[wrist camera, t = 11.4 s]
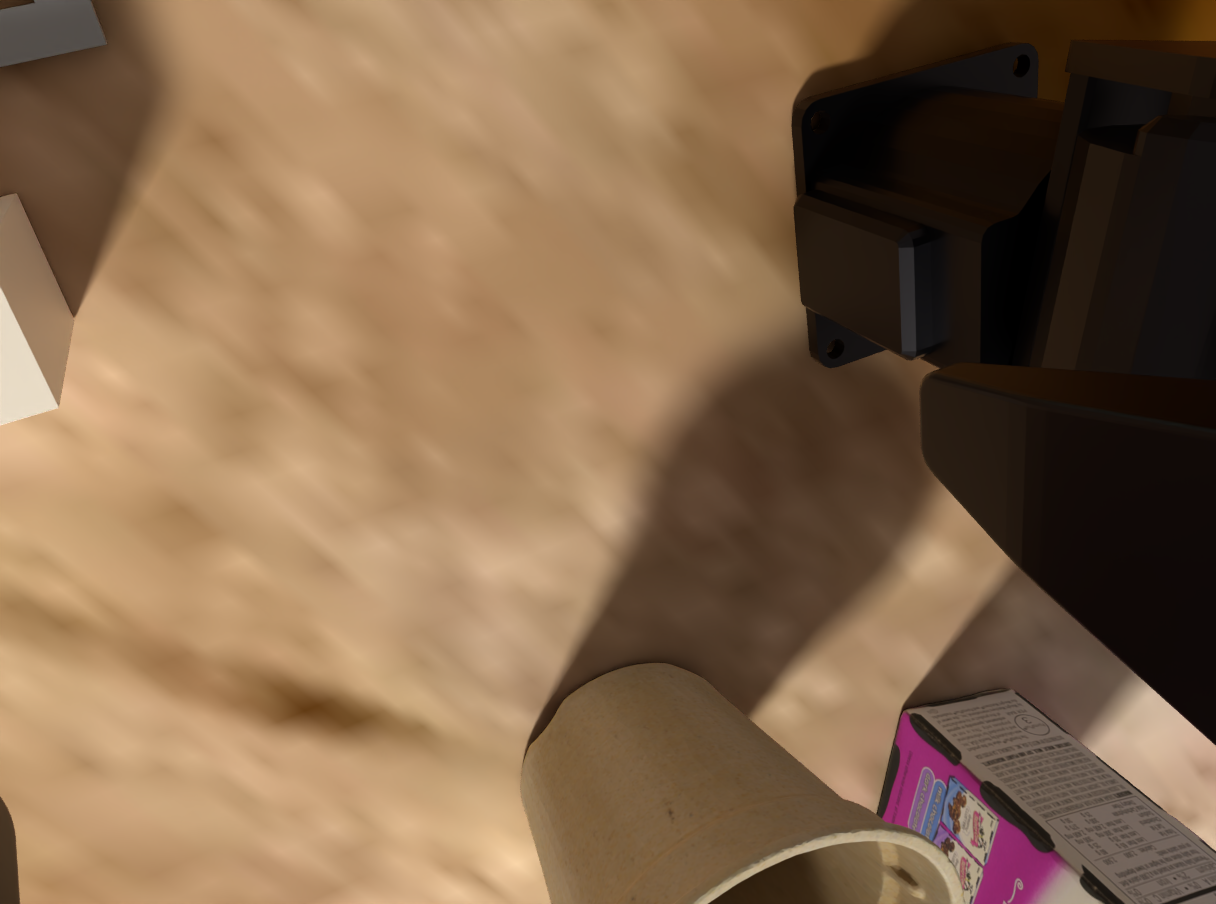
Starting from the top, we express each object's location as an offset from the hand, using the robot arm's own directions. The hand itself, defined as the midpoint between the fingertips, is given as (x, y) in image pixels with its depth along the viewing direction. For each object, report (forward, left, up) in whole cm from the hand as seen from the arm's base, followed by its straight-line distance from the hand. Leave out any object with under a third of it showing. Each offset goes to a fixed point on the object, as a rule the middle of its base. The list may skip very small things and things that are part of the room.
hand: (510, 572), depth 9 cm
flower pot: (-4, +16, -13) cm, 21 cm away
